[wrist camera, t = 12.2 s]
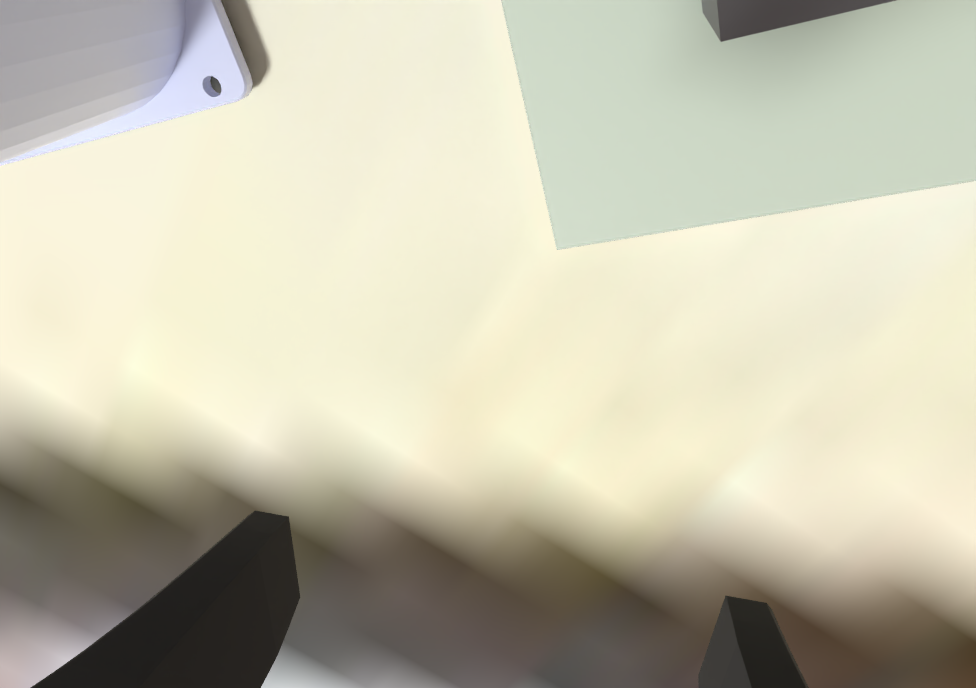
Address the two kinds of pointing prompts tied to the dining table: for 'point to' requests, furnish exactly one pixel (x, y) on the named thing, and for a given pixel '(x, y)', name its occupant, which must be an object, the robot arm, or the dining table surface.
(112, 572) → the dining table surface
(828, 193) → the sliding lid
